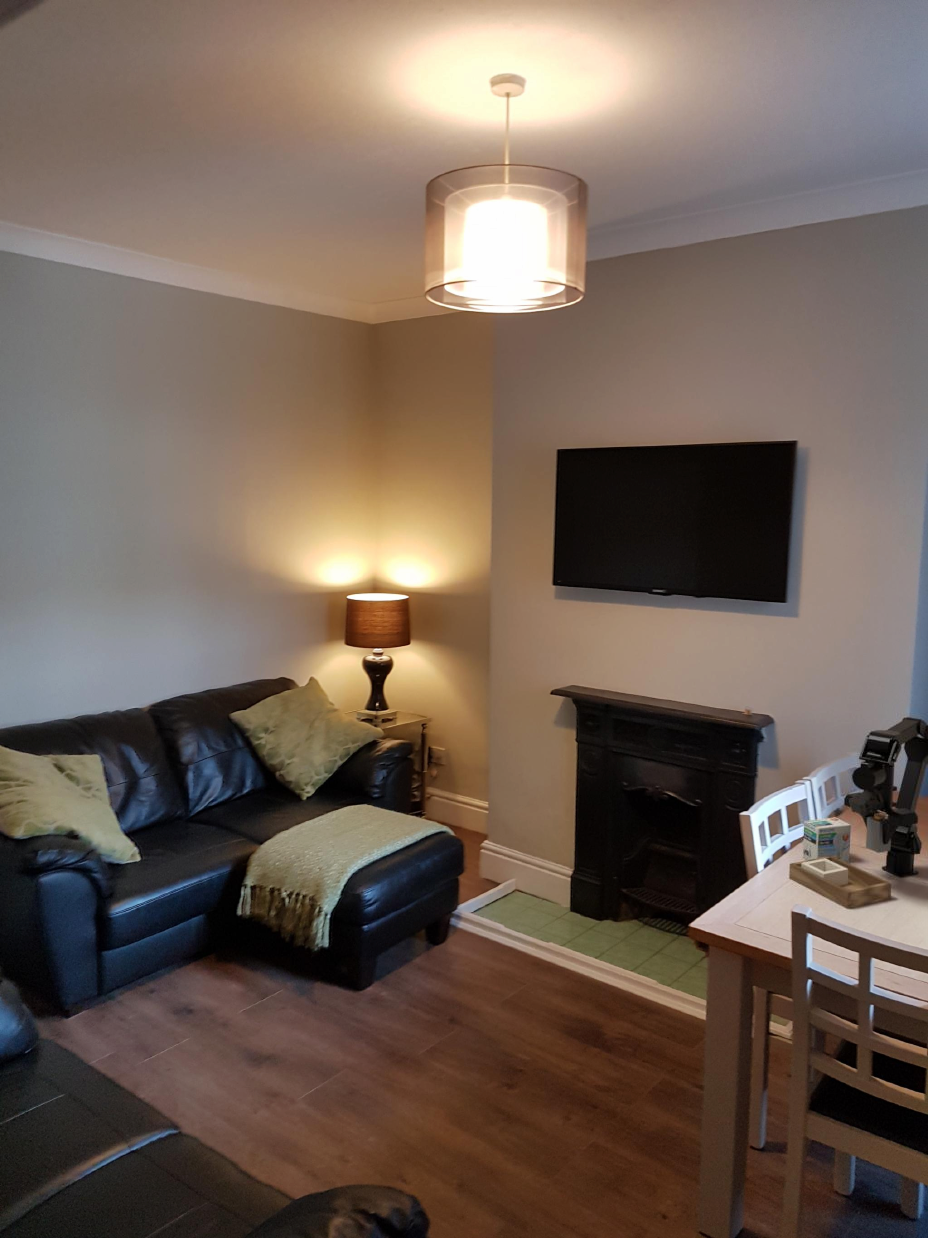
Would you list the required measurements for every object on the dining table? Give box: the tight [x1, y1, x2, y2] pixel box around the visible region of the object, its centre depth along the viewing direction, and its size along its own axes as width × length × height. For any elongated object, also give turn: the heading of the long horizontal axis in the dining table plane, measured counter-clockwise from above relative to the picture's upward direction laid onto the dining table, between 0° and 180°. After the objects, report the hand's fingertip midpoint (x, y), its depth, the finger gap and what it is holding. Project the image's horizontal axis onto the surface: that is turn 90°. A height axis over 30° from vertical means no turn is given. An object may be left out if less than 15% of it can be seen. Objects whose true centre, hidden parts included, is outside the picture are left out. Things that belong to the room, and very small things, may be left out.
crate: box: [788, 856, 892, 909], centre depth 233 cm, size 14×20×4 cm
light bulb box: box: [802, 817, 852, 864], centre depth 251 cm, size 11×7×11 cm, turn 105°
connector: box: [865, 813, 891, 854], centre depth 232 cm, size 4×4×9 cm
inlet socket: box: [801, 858, 848, 886], centre depth 236 cm, size 8×8×4 cm
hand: (878, 841), depth 233 cm, fingers closed on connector, 4 cm apart
